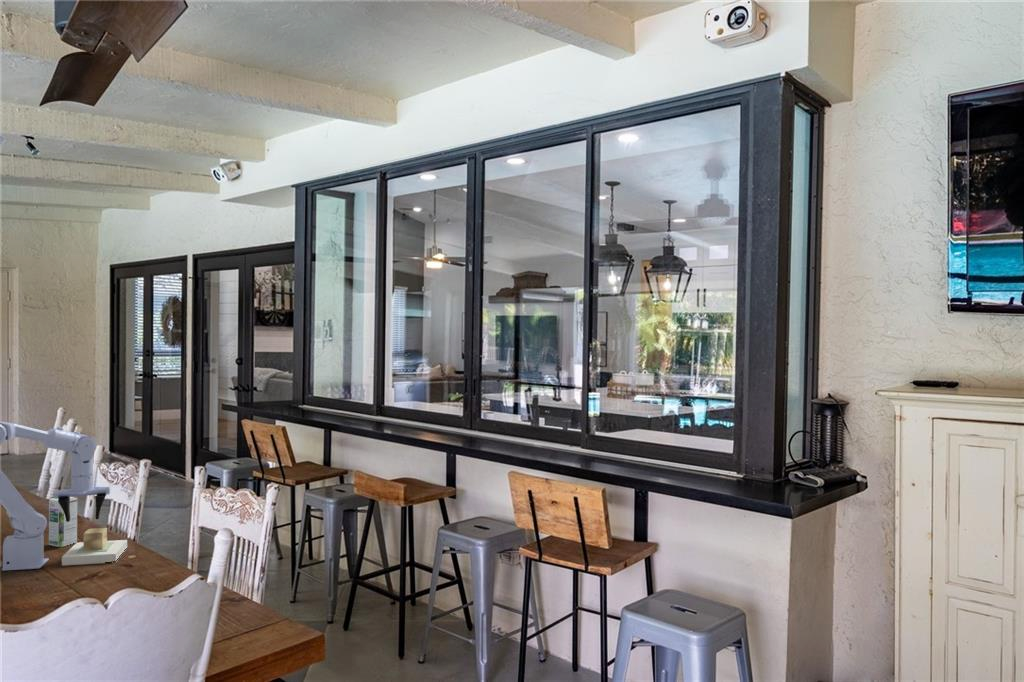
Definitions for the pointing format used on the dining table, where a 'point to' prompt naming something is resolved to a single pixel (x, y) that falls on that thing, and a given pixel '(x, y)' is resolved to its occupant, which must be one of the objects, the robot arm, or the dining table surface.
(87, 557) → the base plinth
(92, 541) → the birch block
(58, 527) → the syrup box
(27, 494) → the dining table surface
